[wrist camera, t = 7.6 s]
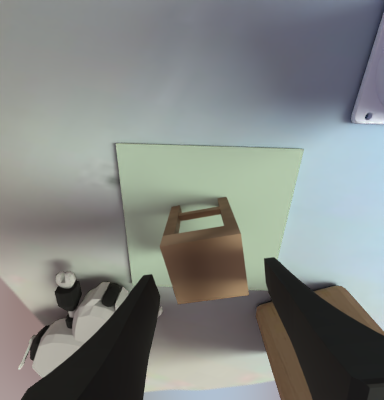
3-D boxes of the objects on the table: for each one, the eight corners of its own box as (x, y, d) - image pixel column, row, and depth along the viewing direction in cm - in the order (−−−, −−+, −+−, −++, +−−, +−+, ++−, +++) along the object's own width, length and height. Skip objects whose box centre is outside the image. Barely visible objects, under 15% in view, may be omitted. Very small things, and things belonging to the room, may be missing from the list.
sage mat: (301, 148, 16) (303, 149, 15) (268, 287, 21) (269, 290, 21) (117, 143, 16) (115, 143, 15) (133, 282, 22) (132, 285, 21)
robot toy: (70, 249, 21) (41, 338, 25) (40, 278, 17) (11, 379, 21) (172, 287, 23) (129, 365, 27) (168, 322, 19) (118, 408, 23)
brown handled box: (226, 196, 17) (241, 233, 11) (233, 243, 19) (248, 295, 13) (171, 206, 17) (159, 246, 12) (183, 251, 19) (178, 304, 14)
